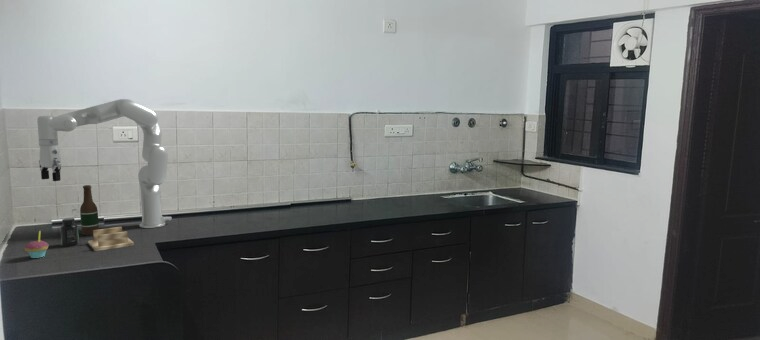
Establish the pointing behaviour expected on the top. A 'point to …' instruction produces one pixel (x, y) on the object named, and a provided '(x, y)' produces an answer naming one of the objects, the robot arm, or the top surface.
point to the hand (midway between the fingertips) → (51, 180)
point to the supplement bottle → (69, 233)
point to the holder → (110, 239)
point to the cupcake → (36, 248)
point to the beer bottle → (88, 213)
